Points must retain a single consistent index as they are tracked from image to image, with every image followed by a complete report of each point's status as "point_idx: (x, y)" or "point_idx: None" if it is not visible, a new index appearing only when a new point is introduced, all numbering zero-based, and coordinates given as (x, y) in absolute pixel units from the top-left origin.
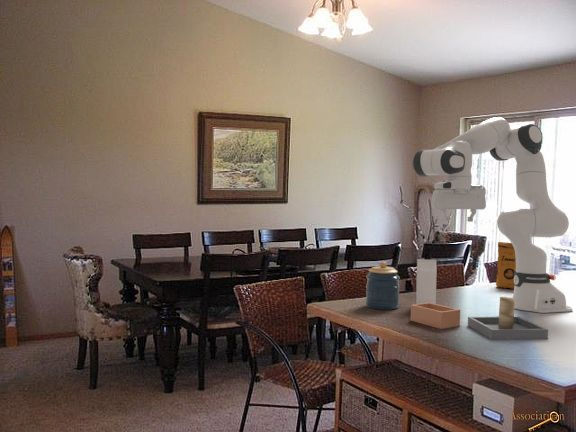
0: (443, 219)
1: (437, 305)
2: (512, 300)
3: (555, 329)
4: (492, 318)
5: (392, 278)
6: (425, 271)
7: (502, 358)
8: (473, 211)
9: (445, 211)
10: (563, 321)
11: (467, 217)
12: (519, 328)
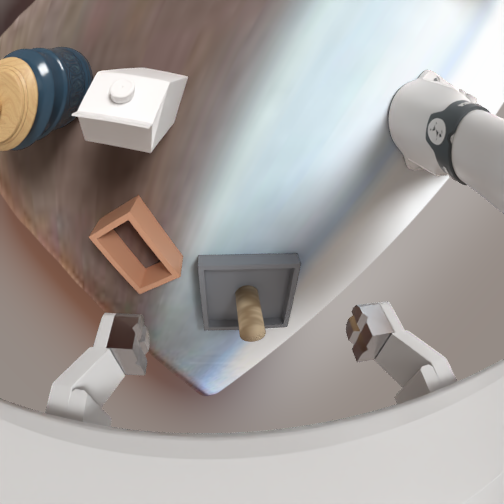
0: (102, 325)
1: (143, 238)
2: (255, 339)
3: (337, 274)
4: (245, 267)
5: (30, 142)
6: (112, 145)
7: (188, 363)
8: (401, 401)
9: (105, 420)
10: (392, 229)
11: (369, 330)
12: (271, 290)
